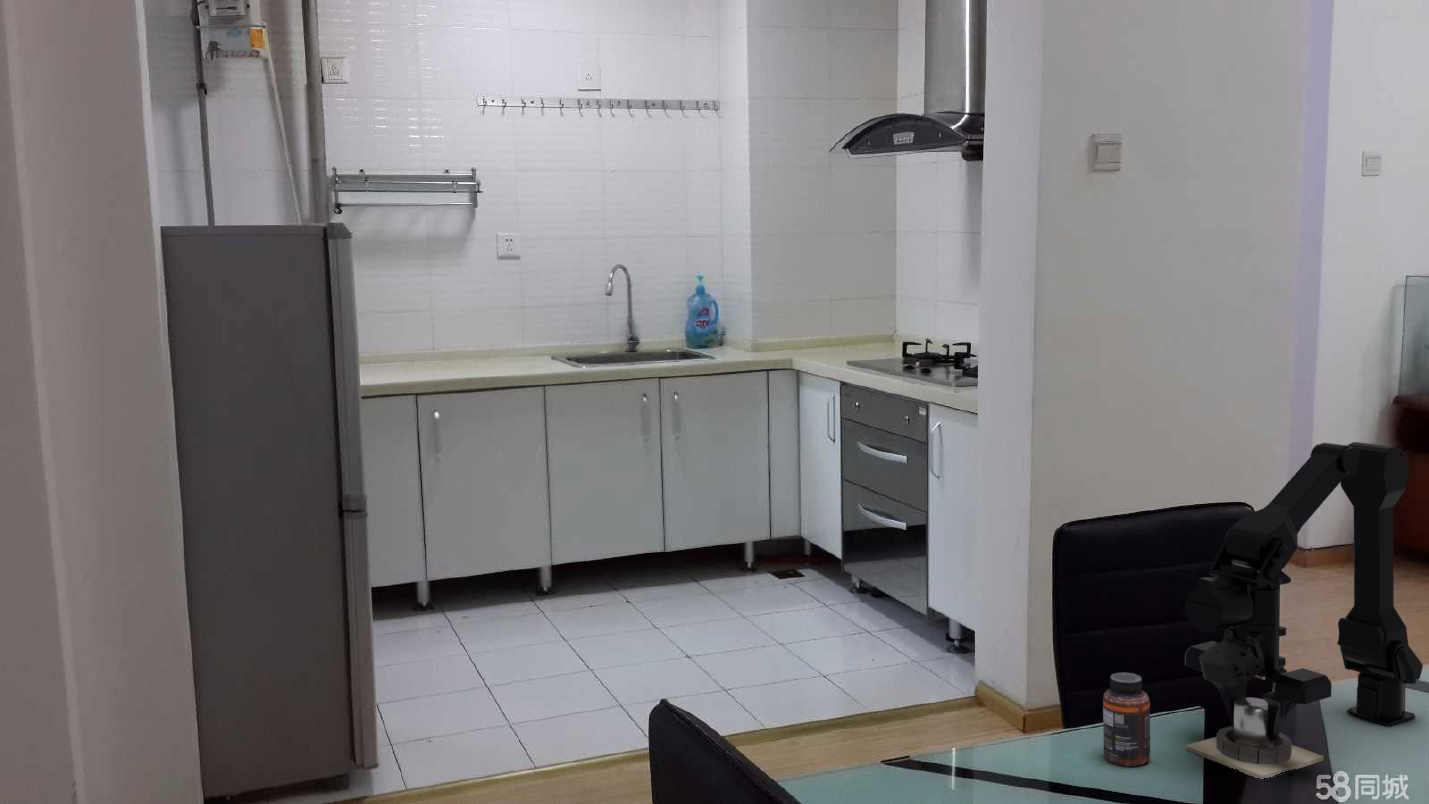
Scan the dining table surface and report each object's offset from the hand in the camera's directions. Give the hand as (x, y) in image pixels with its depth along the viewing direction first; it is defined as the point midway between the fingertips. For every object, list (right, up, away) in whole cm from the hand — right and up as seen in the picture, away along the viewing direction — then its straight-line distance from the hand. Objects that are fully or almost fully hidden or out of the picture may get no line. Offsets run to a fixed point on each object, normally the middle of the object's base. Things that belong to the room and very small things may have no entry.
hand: (1254, 733), depth 166 cm
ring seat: (0, -3, 0) cm, 3 cm away
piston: (0, -2, 0) cm, 2 cm away
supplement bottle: (-17, -4, 0) cm, 17 cm away
